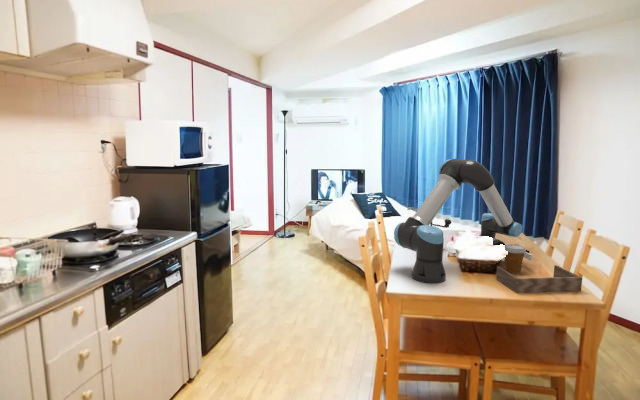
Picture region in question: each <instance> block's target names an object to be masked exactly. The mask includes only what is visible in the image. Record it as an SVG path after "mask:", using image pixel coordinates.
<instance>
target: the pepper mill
mask: <svg viewBox="0 0 640 400" xmlns="http://www.w3.org/2000/svg"><path fill="white" fill-rule="evenodd" d="M451 224H452V220H451V219H449V218H447V219H444V225H442V224H441V225H440V224H437V223H435V224H434V223H433V221H432V222H431V223H430V225H429V226H434V227H440V228H446V229H447V228H448V229H449V228H450V225H451Z"/></svg>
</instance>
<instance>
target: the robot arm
mask: <svg viewBox="0 0 640 400" xmlns="http://www.w3.org/2000/svg"><path fill="white" fill-rule="evenodd" d="M438 169H439V170H438V181H437V183H436V185H435V186H434V187H433V188H432V189H431V191H430V193H429V194H428V195H427V197H426V198H425V199H424V201H423V202H422V203H421V205H420V207H419V208H418V209H417V211H416V212H415V213H414V214H413V216H408V218H407V219H406V220H405V222H400V223H398V224H396V226H395V228H394V231H393V235H394V236H393V238H394V241H395V243H396V244H397V245H398V246H400V247H402V248H403V249H407V250H409V251H413V252H416V255H415V262H414V265H413V268H412V270H411V278H412V279H413V280H414V281H418V282H421V283H430V284H438V283H443V282H445V281H446V278H447V274H446V270H445V267H444V264H443V256H444V242H445V241H444V240H445V237H444V231H443V230H442V229H441V228H439V227H438V226H434V225H432V226H430V223H431V222H432V223H433V221H434V219H435V217H436V216H437V215H438V214H439V212H440V210H441V209H442V207H444V205H445V203H446V202H447V201H448V199H449V197H450V196H451V194H452V193H453V192H454V191H458V190H459V189H460V188H461V186H462V185H463V184H468V185H471V186H472V187H474V188H473V189H475V191H476V192H479V195H481V197H482V199H483V201H484V203H485V204H486V206H487V208H488V210H489V212H490V213H488V212H484V213H483V214H482V215H481V220H480V223H481V224H480V233H479V235H478V236H489V237H492V238H493V245H500V244H503V245H507V244H506V243H505V242H504V241H503V240H500V239H498V238H496V234H499V235H503V236H506V237H512V238H518V237H519V236H521V235H522V233H523V226H522V224H521V223H519V222H517V221H514V218H513V217H512V216H511V213H510V212H509V210H508V207H507V206H506V204H505V202H504V201H503V199H502V197H501V195H500V193H499V192H498V189H497V186H495V179H494V177H493V175H492V174H491V172H490V171H489V170H488V169H487V168H486V167H485V166H484V165H483V164H482V163H480V162H479V161H477V160H473V159H461V158H460V159H459V158H450V159H446V160H444V161H443V162H442V163H441V164H440V166H439V168H438ZM525 250H526V251H525V252H524V256H523V258H525V259H526V260H528V261H533V256H534V255H533V254H531V253H530V252H531V251H530V250H527V249H525ZM500 261H502V262H505V257H504V258H503V259H501V260H500Z"/></svg>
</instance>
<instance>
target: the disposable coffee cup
mask: <svg viewBox="0 0 640 400" xmlns="http://www.w3.org/2000/svg"><path fill="white" fill-rule="evenodd" d="M505 250H506V251H508V255H506V257H505V259H504V262H505V270H506V271H507V272H509V273H514V274H516V273H517V274H518V273H521V269H522V265H523V260H524V257H523V256H524V252H525V251H526V250H527V249H526V248H525V246H523V245H519V244H513V243H512V244H506V245H505Z"/></svg>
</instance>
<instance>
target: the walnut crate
mask: <svg viewBox="0 0 640 400" xmlns="http://www.w3.org/2000/svg"><path fill="white" fill-rule="evenodd" d="M495 279H496V280H497V281H498V282H500V283H501V284H502V285H503V286H505V287H506V288H508V289H510V290H511V291H512V292H514V293H515V294H533V293H537V294H538V293H568V292H569V293H571V292H572V293H573V292H574V293H575V292H577V293H578V292H582V286H583V277H582V276H580V275H577V274H575V273H574V272H572V271H569V270H567V269H566V268H563V267H561V266H559V265H556V264H555V265H554V266H553V276H552V277H517V276H516V275H513V274H511V272H508V271H506V269H504V268H502V267H501V266H496V276H495Z"/></svg>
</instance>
